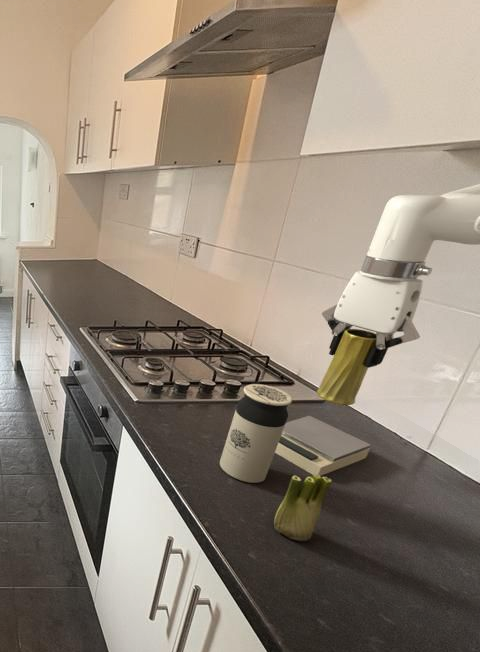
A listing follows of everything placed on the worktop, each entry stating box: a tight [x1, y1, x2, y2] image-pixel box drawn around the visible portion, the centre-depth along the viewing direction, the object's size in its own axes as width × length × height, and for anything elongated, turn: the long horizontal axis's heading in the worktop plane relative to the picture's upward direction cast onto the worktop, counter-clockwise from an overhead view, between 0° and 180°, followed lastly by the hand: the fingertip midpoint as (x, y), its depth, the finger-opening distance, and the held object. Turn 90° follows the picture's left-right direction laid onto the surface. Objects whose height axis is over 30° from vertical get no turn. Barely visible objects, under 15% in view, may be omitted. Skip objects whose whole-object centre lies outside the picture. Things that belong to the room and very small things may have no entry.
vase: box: [316, 328, 376, 406], centre depth 82 cm, size 6×6×14 cm
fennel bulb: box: [273, 474, 333, 542], centre depth 67 cm, size 6×5×12 cm
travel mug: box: [219, 383, 293, 484], centre depth 80 cm, size 8×8×18 cm
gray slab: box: [282, 415, 371, 462], centre depth 89 cm, size 12×12×1 cm
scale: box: [274, 434, 371, 477], centre depth 89 cm, size 16×12×3 cm
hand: (352, 358), depth 81 cm, fingers closed on vase, 5 cm apart
